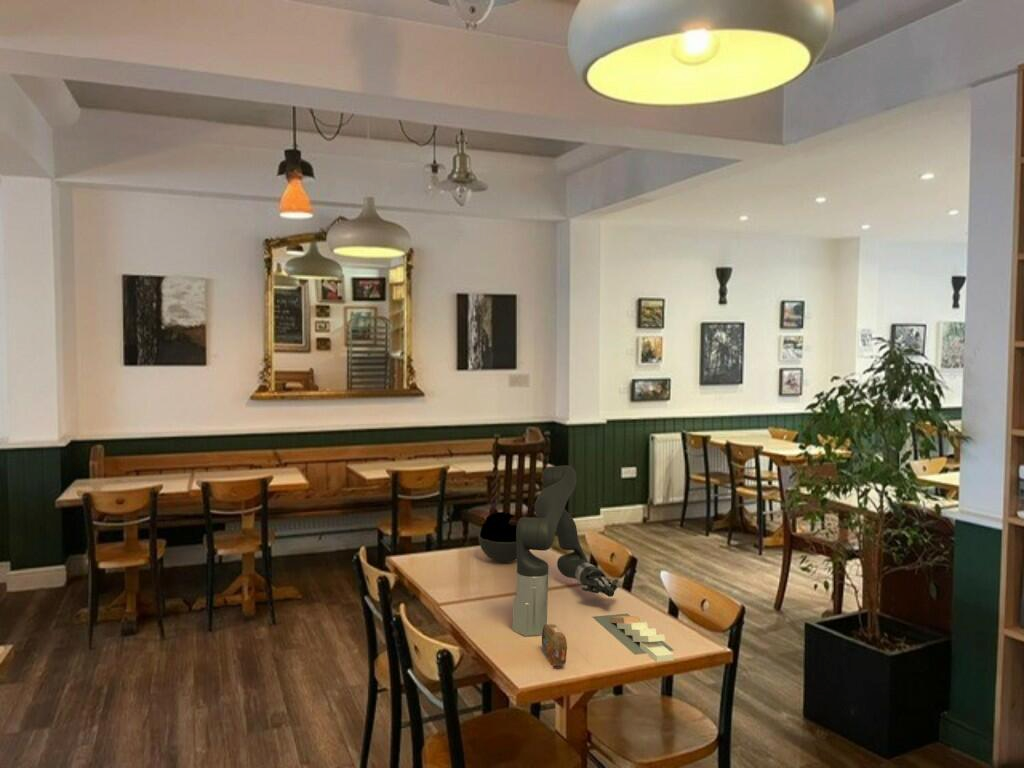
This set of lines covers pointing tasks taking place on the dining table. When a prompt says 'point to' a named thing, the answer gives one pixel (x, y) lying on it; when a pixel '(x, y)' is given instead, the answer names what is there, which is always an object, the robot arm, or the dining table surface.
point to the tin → (554, 645)
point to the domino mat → (623, 634)
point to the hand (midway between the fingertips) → (611, 593)
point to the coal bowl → (499, 538)
